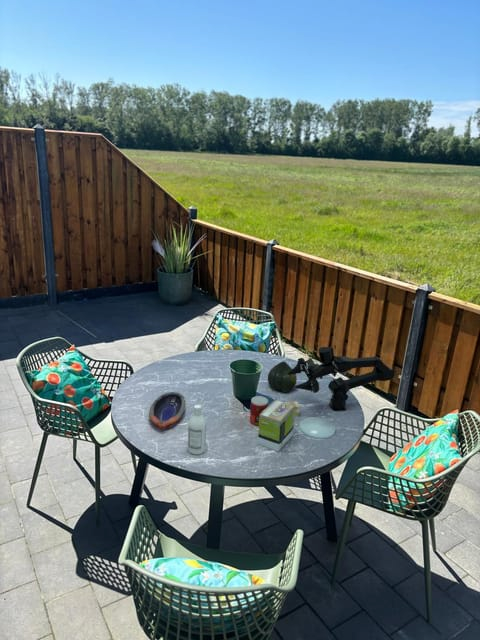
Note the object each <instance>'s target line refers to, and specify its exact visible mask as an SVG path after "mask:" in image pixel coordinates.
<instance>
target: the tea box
mask: <svg viewBox="0 0 480 640" xmlns="http://www.w3.org/2000/svg"><path fill="white" fill-rule="evenodd" d="M295 417H296V416H295V406H294V405H290V404H287V402H283V401H280V400H277V399H275V400H273V401H272V402H271V403H270V404H268V407H267V408H266V409H265V410H264V411H263V412H262V413H261V414H260V415H259V426H258V431H257V433H258V435H257V445H259V446H262V447H265V448H267V449H270V450H272V451H276V452H279V451H280V450H281V449H282V448H283V447H284V446H285V445H286V444H287V442H288V441H289V440H290V439H291V438H292V436H294V430H295V429H294V425H295Z"/></svg>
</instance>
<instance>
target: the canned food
mask: <svg viewBox="0 0 480 640" xmlns="http://www.w3.org/2000/svg"><path fill="white" fill-rule="evenodd" d="M250 400H251V401H250V411H249V414H250V416H249V421H250V423H251V424H252V425H253V426H256V427H259V415H260V414H261V413H262V412H263V411H264V410H265V409H266V408H267V407H268V406H269V399H268V398H267V397H264V396H261V395H260V396H259V395H255V396H254V397H252V398H251V399H250Z"/></svg>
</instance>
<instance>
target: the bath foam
mask: <svg viewBox="0 0 480 640" xmlns="http://www.w3.org/2000/svg"><path fill="white" fill-rule="evenodd" d="M187 429H188V430H187V431H188V433H187V434H188V437H187V439H188V440H187V441H188V442H187V447H188V448H187V450H188V452H189V453H190V454H193V455H201V454H204V453H205V451H206V443H207V442H206V439H207V438H206V436H207V433H206V432H207V422H206V418H205V417H204V416H203V414H202V405H201V404H195V405H194V406H193V414H192V415H191V417H190V419H189V420H188V427H187Z"/></svg>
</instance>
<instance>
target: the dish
mask: <svg viewBox="0 0 480 640" xmlns="http://www.w3.org/2000/svg"><path fill="white" fill-rule="evenodd" d="M185 409H186V399H185V396H184V395H183V394H181V393H180V392H177V391H169V392H165V393H163V394H161V395H159V396H158V397H157V398H156V399H154V401H153V402H152V404H151V405H150V407H149V410H148V414H149V415H148V417H149V419H150V421H151V422H152V424H154V426H156V427H157V428H159V429H163V430H167V429H168V430H169V429H170V428H171V427H173V426H175V425H176V424H177V423H179V421H180V420H181V419H182V417H183V414H184V413H185Z"/></svg>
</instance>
